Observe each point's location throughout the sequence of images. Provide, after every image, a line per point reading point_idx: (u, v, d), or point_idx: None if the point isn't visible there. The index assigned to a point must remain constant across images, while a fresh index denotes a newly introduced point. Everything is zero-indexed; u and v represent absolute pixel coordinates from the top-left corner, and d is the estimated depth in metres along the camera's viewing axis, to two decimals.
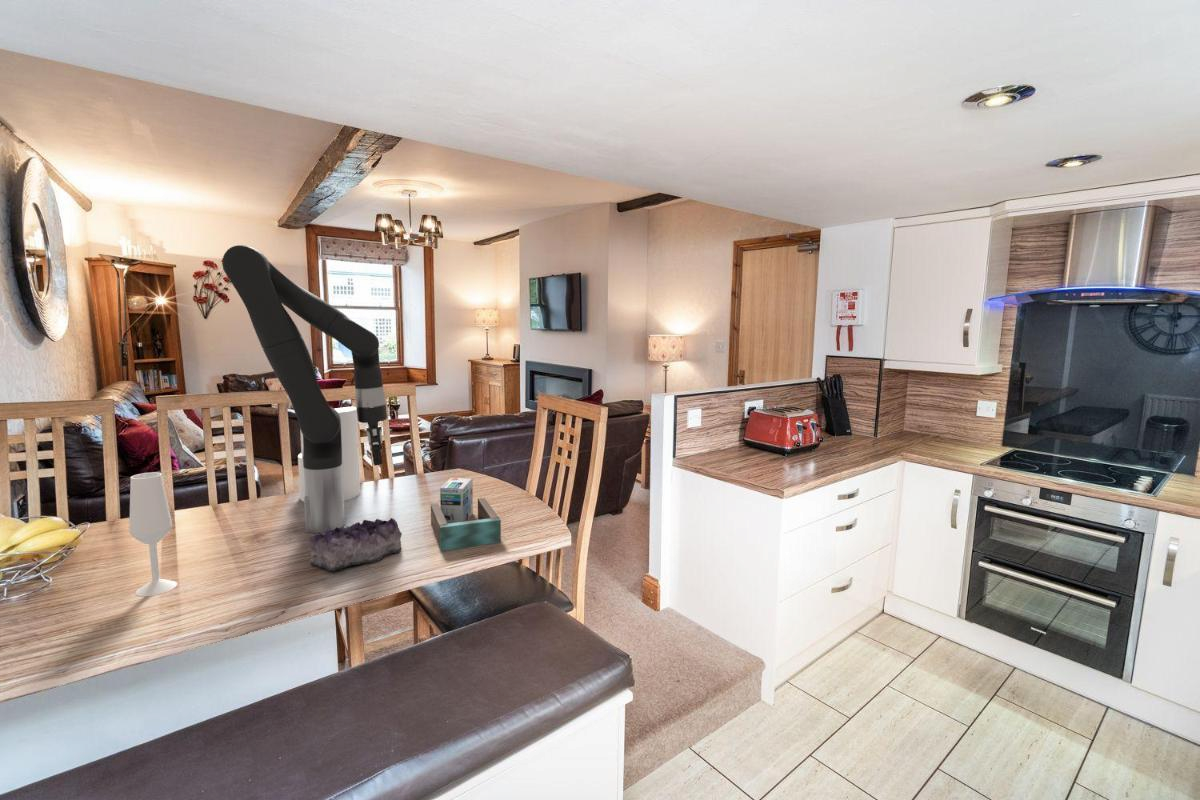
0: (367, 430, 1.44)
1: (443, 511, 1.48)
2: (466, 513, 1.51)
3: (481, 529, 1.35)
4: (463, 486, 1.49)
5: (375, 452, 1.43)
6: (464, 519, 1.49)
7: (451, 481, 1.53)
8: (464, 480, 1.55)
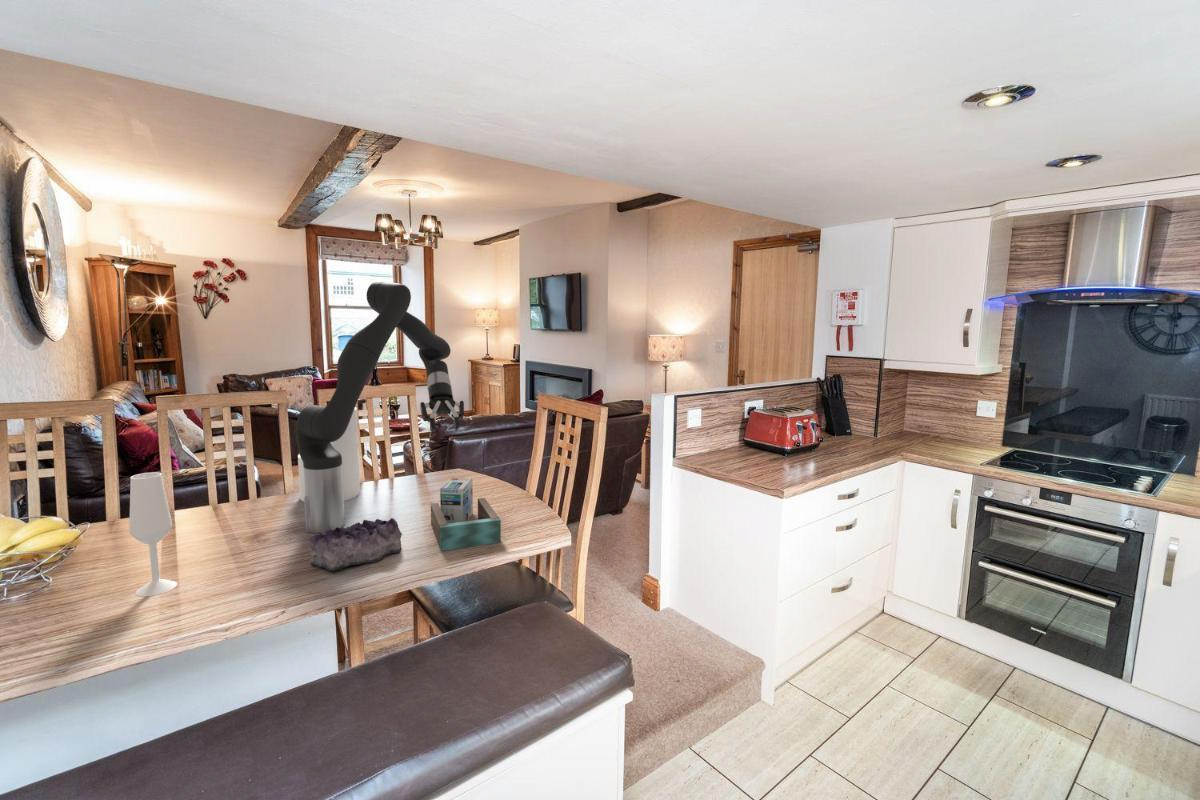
0: None
1: (443, 511, 1.48)
2: (466, 513, 1.51)
3: (481, 529, 1.35)
4: (463, 486, 1.49)
5: (458, 418, 1.72)
6: (464, 519, 1.49)
7: (451, 481, 1.53)
8: (464, 480, 1.55)
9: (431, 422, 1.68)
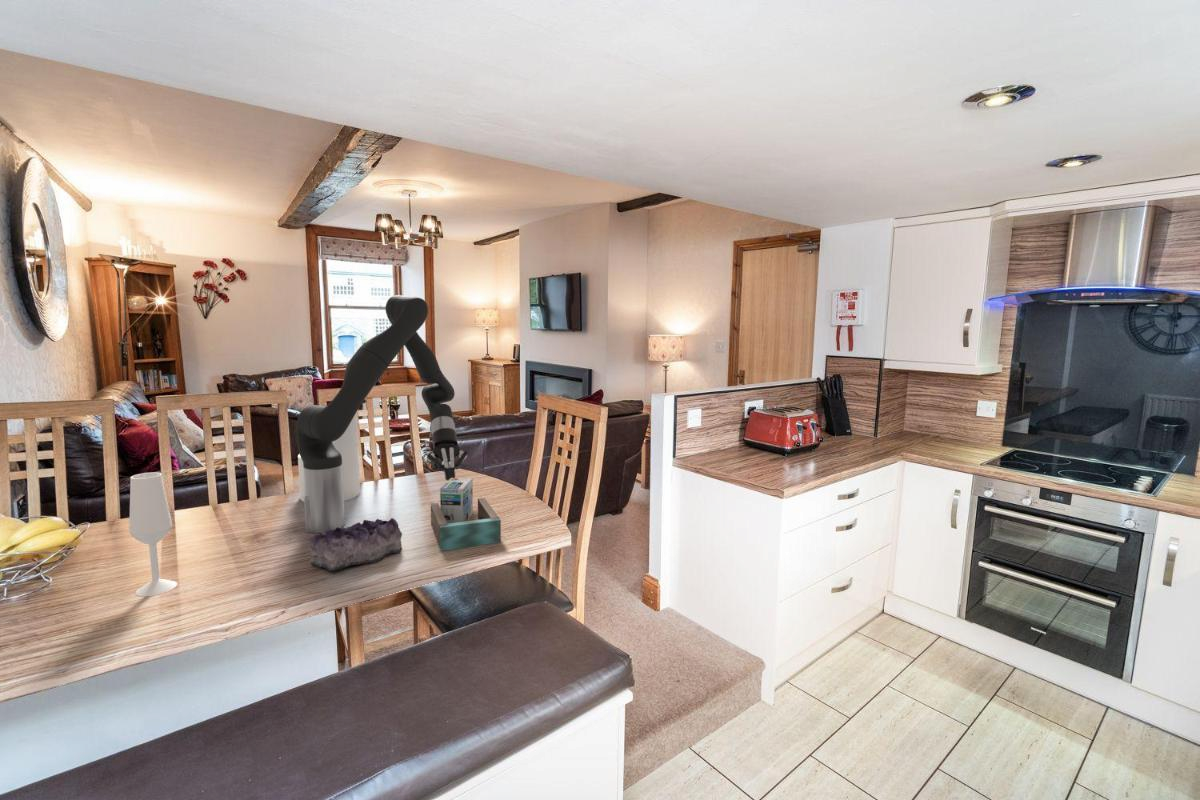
0: None
1: (443, 511, 1.48)
2: (466, 513, 1.51)
3: (481, 529, 1.35)
4: (463, 486, 1.49)
5: (454, 469, 1.65)
6: (464, 519, 1.49)
7: (451, 481, 1.53)
8: (464, 480, 1.55)
9: (446, 472, 1.63)
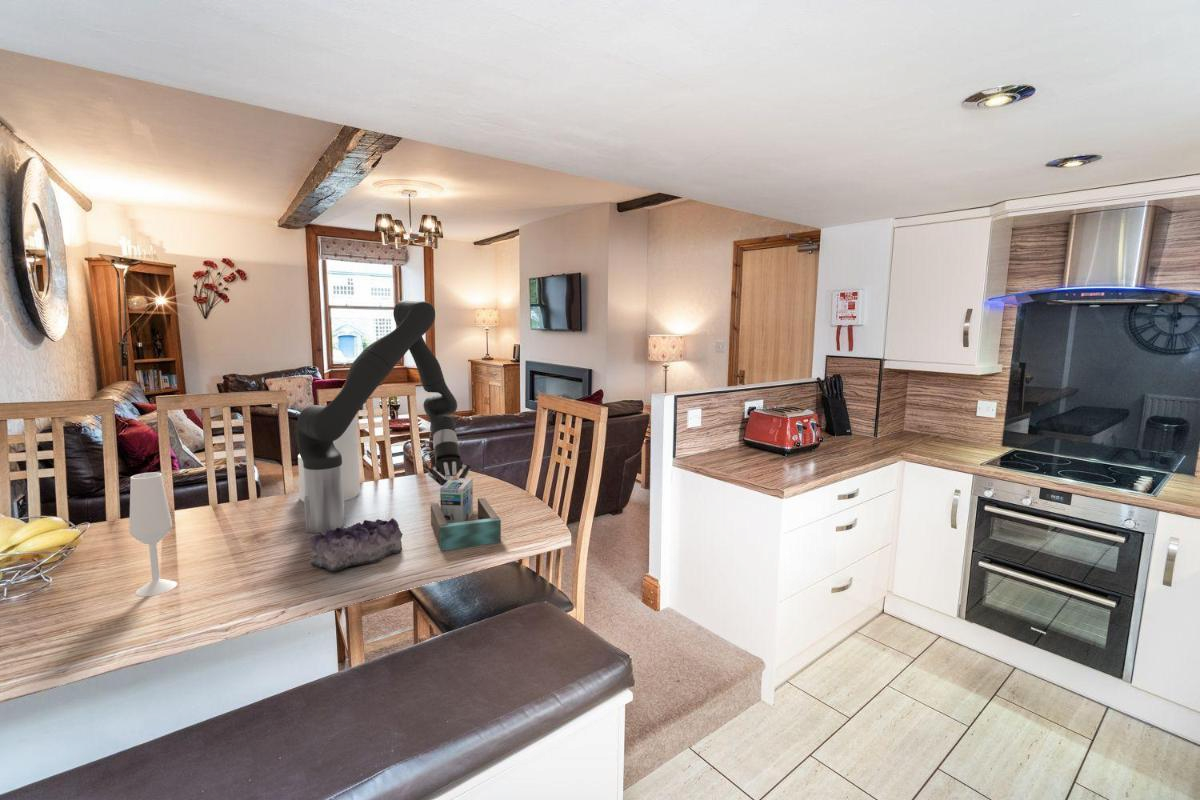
0: None
1: (443, 511, 1.48)
2: (466, 513, 1.51)
3: (481, 529, 1.35)
4: (463, 486, 1.49)
5: None
6: (464, 519, 1.49)
7: (451, 481, 1.53)
8: (464, 480, 1.55)
9: None
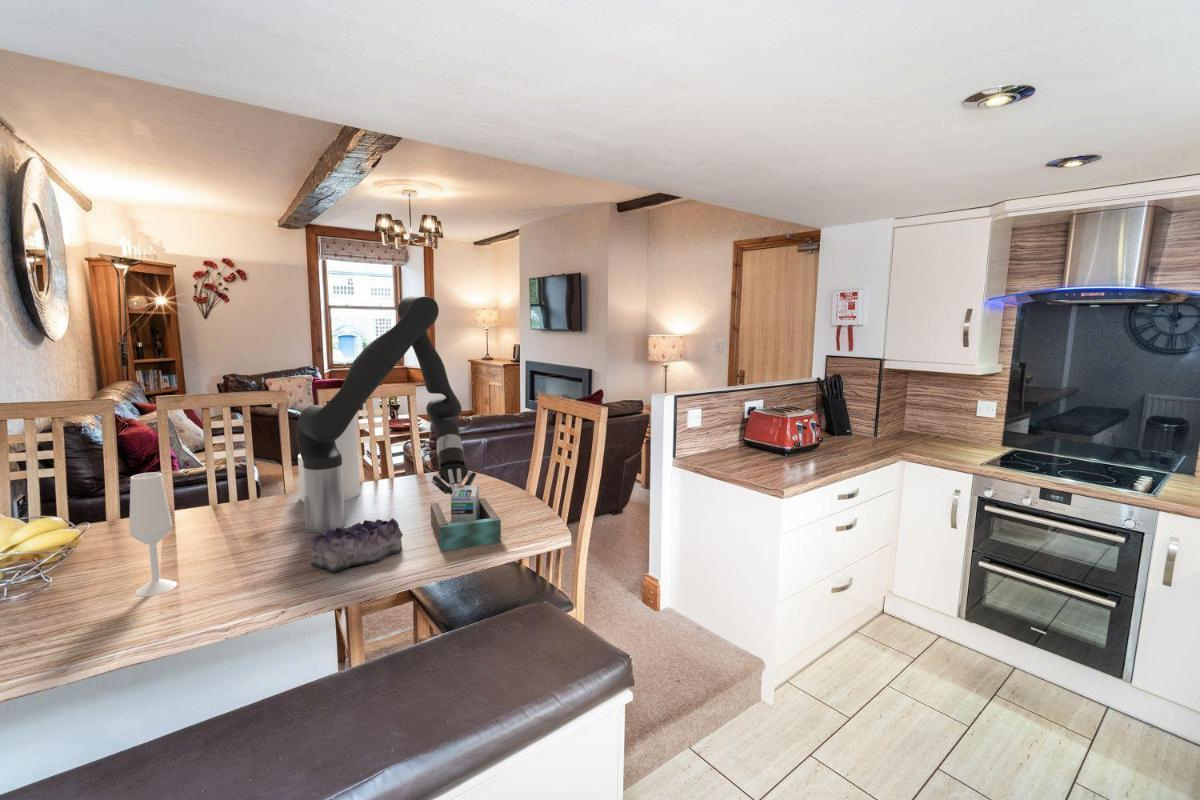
0: None
1: (454, 521, 1.41)
2: None
3: (481, 529, 1.35)
4: (474, 494, 1.42)
5: None
6: None
7: (458, 489, 1.46)
8: (471, 487, 1.48)
9: None
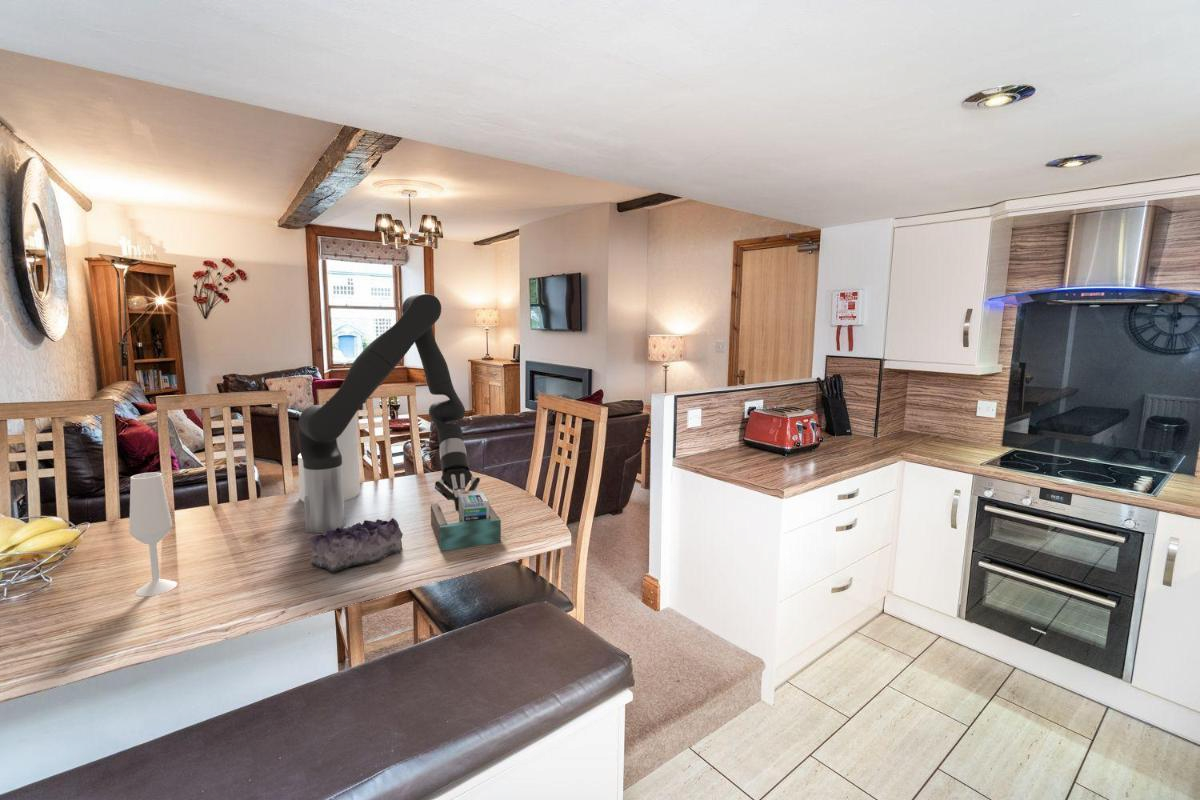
0: None
1: None
2: None
3: (481, 529, 1.35)
4: (485, 498, 1.39)
5: None
6: None
7: (465, 495, 1.41)
8: (476, 492, 1.44)
9: (456, 502, 1.46)
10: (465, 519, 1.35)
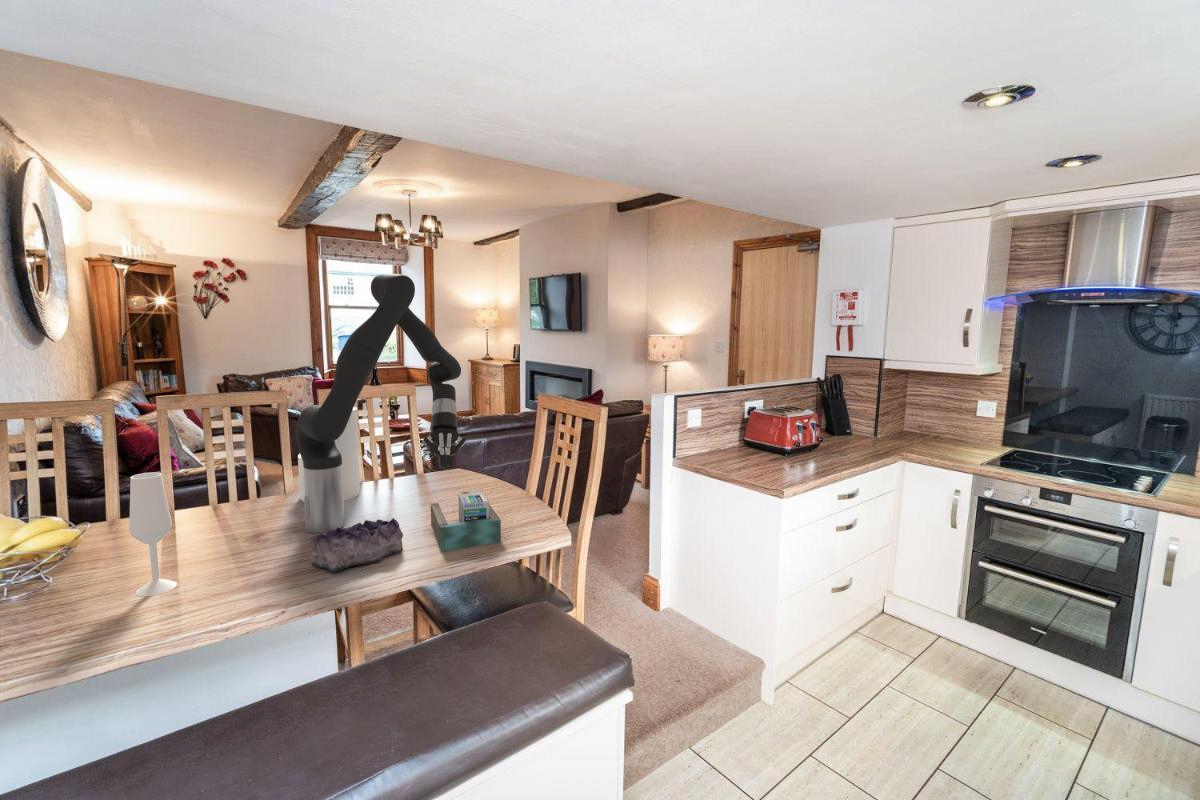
0: None
1: None
2: None
3: (481, 529, 1.35)
4: (485, 499, 1.39)
5: (449, 456, 1.61)
6: None
7: (465, 495, 1.41)
8: (476, 492, 1.44)
9: (441, 459, 1.59)
10: (465, 519, 1.35)
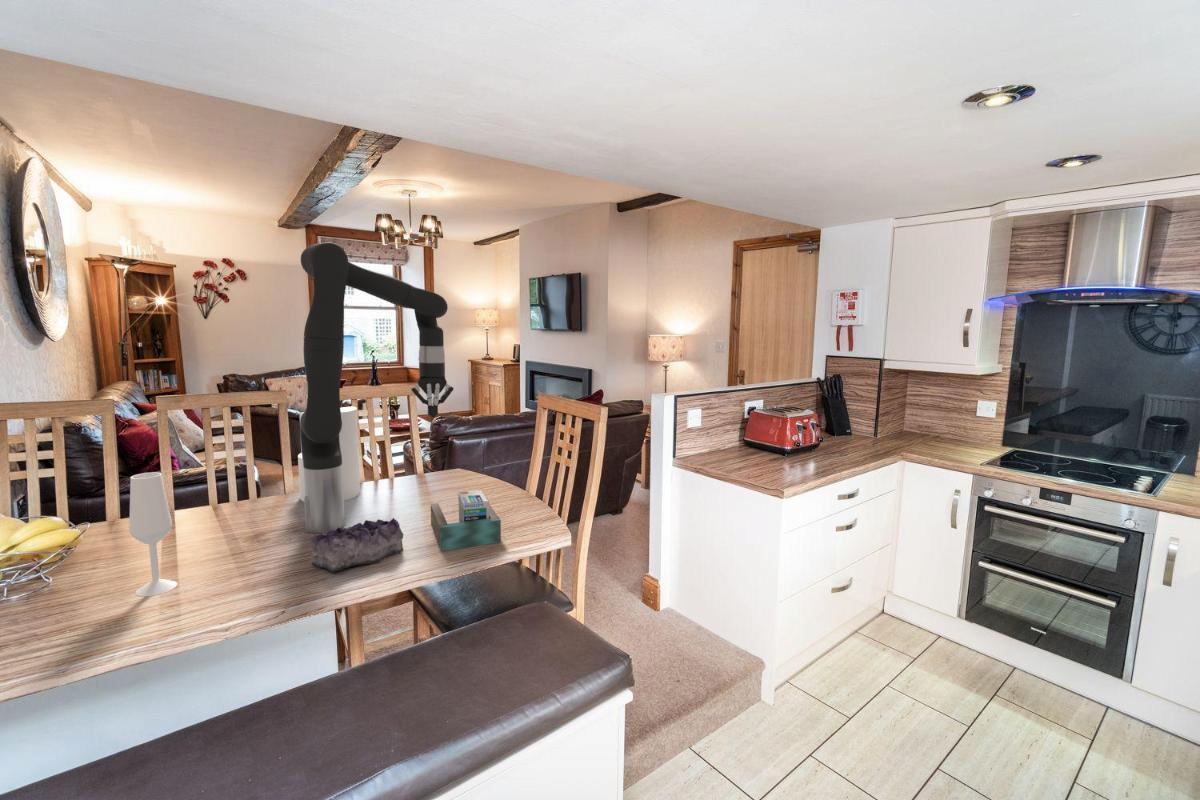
0: (439, 385, 1.62)
1: None
2: None
3: (481, 529, 1.35)
4: (485, 499, 1.39)
5: None
6: None
7: (465, 495, 1.41)
8: (476, 492, 1.44)
9: (429, 409, 1.63)
10: (465, 519, 1.35)
